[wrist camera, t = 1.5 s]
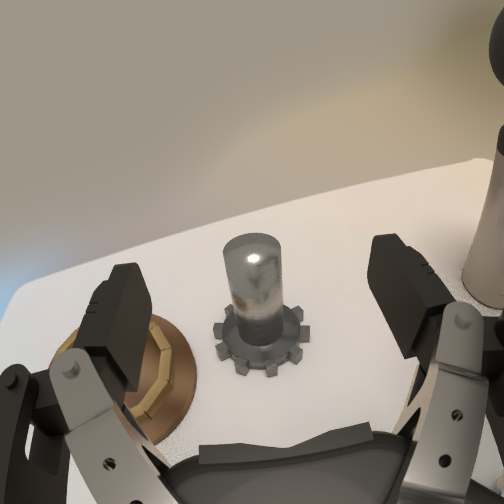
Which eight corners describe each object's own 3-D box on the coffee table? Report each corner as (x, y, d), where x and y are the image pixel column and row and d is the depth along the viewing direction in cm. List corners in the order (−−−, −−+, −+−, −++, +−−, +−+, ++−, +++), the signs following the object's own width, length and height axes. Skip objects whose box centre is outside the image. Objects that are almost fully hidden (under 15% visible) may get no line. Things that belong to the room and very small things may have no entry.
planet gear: (241, 295, 35) (228, 211, 29) (319, 315, 32) (326, 227, 25) (199, 358, 29) (167, 273, 22) (287, 390, 25) (287, 307, 19)
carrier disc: (112, 301, 36) (104, 286, 35) (228, 348, 30) (224, 332, 28) (27, 397, 24) (13, 384, 23) (133, 491, 18) (118, 485, 16)
